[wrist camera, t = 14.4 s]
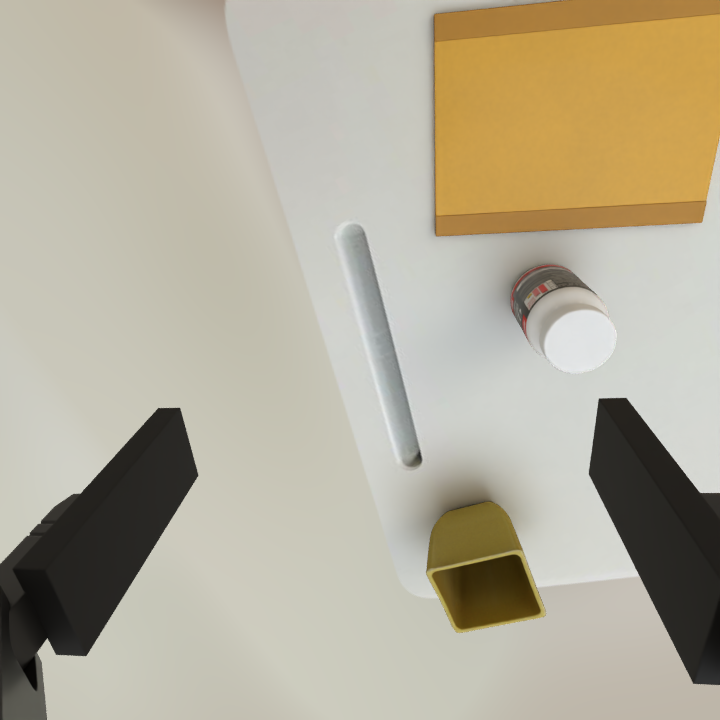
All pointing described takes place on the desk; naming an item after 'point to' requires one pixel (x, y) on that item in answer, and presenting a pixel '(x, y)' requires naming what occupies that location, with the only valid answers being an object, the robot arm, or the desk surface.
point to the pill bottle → (563, 319)
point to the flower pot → (481, 569)
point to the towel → (575, 115)
